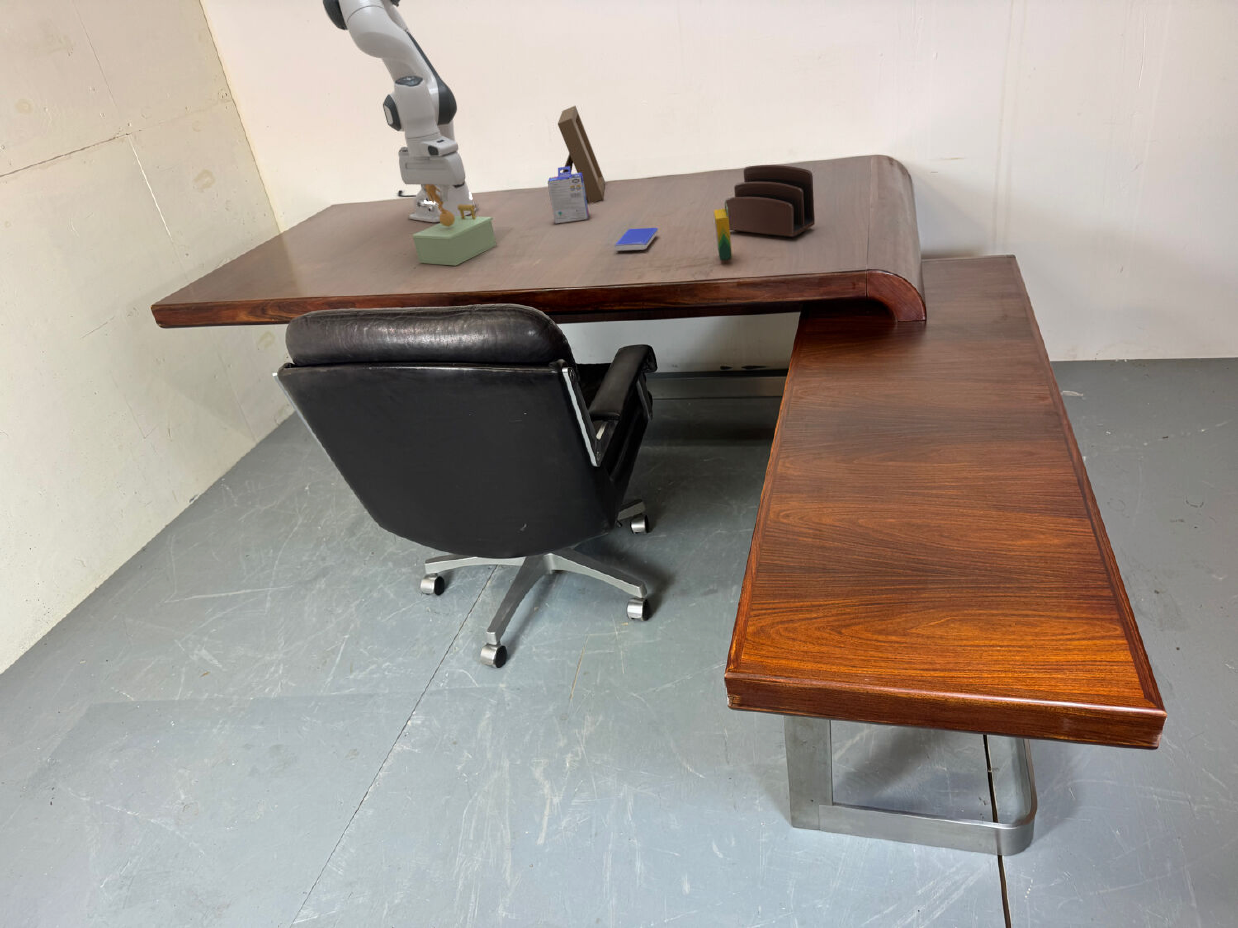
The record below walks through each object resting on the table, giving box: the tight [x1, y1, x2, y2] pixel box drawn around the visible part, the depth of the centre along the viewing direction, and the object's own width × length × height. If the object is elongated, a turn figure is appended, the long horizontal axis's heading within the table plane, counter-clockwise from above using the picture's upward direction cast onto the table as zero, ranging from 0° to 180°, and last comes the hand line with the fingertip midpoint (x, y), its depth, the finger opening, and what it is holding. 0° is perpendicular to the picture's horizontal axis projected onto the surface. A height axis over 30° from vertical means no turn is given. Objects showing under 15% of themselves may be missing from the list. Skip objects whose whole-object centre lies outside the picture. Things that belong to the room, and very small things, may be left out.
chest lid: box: [412, 205, 494, 240], centre depth 225 cm, size 17×14×5 cm
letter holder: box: [724, 164, 816, 238], centre depth 205 cm, size 10×20×14 cm, turn 48°
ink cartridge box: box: [547, 166, 590, 224], centre depth 240 cm, size 10×6×14 cm, turn 89°
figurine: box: [425, 185, 455, 226], centre depth 221 cm, size 8×6×12 cm
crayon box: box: [713, 200, 733, 261], centre depth 193 cm, size 7×3×12 cm, turn 178°
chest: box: [412, 221, 497, 266], centre depth 228 cm, size 17×14×7 cm
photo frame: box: [557, 105, 606, 204], centre depth 260 cm, size 15×22×25 cm
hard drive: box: [614, 227, 659, 251], centre depth 214 cm, size 2×8×12 cm
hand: (438, 201), depth 221 cm, fingers closed on figurine, 3 cm apart
